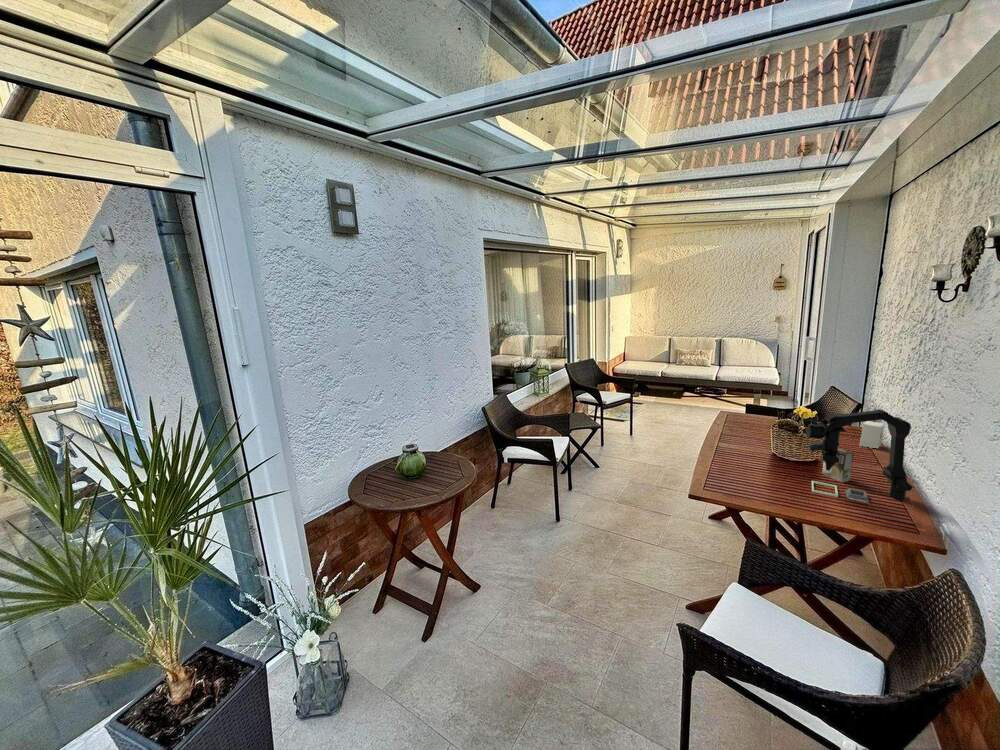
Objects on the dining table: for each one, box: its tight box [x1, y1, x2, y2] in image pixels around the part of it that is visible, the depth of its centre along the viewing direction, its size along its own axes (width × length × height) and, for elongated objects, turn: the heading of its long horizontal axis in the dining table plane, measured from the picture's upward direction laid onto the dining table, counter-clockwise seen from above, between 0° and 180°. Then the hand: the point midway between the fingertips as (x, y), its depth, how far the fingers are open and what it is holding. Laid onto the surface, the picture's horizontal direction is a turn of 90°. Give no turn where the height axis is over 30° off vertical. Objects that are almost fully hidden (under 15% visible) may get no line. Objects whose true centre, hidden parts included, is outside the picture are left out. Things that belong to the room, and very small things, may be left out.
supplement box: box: [859, 421, 885, 449], centre depth 258 cm, size 9×9×15 cm
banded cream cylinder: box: [821, 460, 832, 476], centre depth 204 cm, size 4×4×9 cm
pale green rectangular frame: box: [811, 480, 839, 498], centre depth 207 cm, size 12×10×2 cm
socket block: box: [844, 487, 870, 504], centre depth 200 cm, size 10×8×3 cm
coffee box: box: [824, 447, 855, 483], centre depth 217 cm, size 9×6×16 cm
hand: (827, 468), depth 205 cm, fingers closed on banded cream cylinder, 4 cm apart
